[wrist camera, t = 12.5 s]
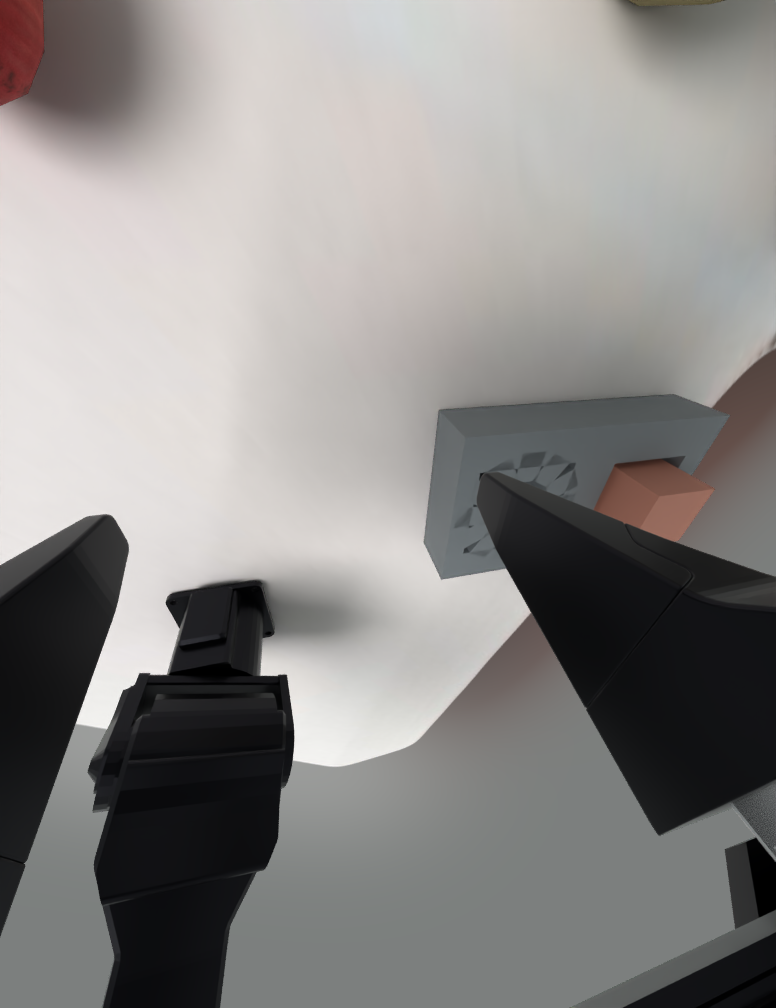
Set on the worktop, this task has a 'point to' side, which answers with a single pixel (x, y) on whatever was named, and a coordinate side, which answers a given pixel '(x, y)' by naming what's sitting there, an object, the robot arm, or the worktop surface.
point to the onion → (19, 46)
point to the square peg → (653, 497)
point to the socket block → (549, 459)
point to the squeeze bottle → (672, 2)
